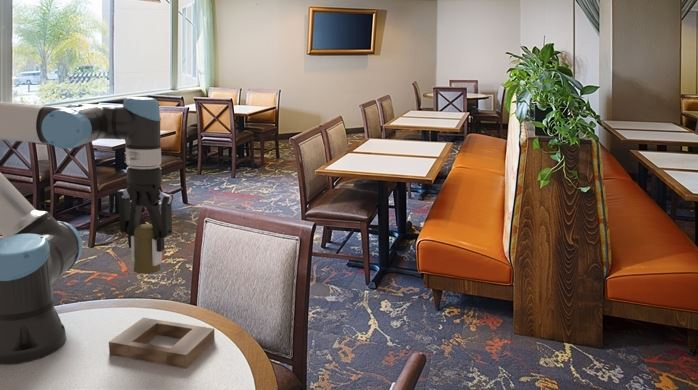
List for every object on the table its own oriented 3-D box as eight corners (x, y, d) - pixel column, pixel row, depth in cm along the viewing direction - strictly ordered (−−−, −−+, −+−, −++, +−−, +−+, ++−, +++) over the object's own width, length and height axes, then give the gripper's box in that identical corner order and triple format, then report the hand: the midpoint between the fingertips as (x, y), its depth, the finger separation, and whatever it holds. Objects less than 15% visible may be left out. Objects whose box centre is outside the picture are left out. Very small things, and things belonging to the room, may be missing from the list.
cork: (151, 275, 123) (150, 229, 120) (128, 272, 124) (126, 227, 121) (165, 266, 128) (164, 223, 126) (143, 263, 129) (141, 220, 127)
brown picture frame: (109, 354, 111) (108, 341, 111) (143, 329, 123) (143, 317, 122) (186, 368, 107) (186, 355, 107) (214, 340, 119) (214, 328, 118)
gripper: (98, 165, 119) (103, 262, 124) (170, 172, 115) (172, 272, 120) (120, 160, 126) (124, 252, 131) (187, 167, 122) (189, 262, 127)
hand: (147, 262), depth 126 cm, fingers closed on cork, 5 cm apart
